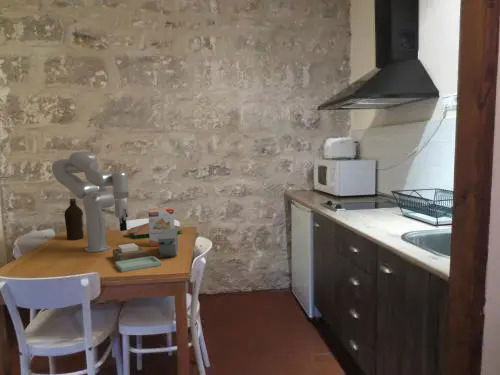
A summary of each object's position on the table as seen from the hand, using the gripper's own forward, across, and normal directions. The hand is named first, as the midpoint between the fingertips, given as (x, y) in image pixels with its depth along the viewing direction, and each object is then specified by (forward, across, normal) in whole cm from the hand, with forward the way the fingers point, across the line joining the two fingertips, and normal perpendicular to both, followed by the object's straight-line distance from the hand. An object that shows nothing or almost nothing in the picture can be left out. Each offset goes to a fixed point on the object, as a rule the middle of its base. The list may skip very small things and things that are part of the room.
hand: (123, 230), depth 206 cm
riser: (+13, +12, 0) cm, 17 cm away
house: (+12, -39, +29) cm, 50 cm away
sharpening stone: (+13, +14, +19) cm, 27 cm away
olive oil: (+11, -56, -16) cm, 60 cm away
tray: (+13, +26, 0) cm, 29 cm away
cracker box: (+13, -6, +22) cm, 27 cm away
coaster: (+8, +9, 0) cm, 12 cm away
